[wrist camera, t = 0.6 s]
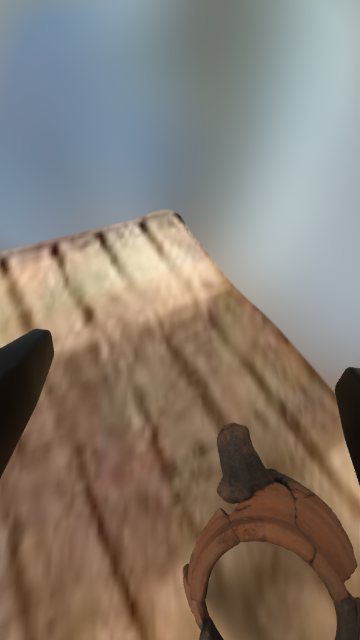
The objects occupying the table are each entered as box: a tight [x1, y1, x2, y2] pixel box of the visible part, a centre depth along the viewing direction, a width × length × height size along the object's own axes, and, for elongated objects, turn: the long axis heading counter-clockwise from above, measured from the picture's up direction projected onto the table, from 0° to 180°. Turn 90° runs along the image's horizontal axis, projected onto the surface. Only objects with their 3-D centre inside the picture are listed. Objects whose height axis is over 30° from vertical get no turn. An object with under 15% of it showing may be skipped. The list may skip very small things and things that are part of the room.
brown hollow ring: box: [183, 423, 360, 640], centre depth 18 cm, size 12×10×8 cm
